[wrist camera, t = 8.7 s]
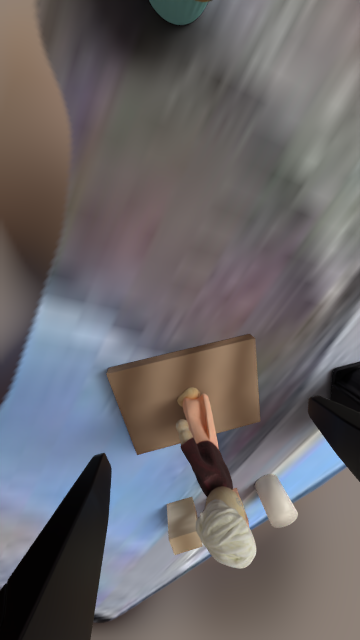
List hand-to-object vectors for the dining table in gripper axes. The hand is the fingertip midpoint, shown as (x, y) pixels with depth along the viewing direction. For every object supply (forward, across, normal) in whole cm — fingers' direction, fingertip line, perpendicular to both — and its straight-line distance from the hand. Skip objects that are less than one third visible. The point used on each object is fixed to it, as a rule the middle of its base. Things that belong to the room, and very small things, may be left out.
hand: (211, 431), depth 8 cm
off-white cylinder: (+13, -9, +30) cm, 34 cm away
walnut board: (+13, 0, +9) cm, 16 cm away
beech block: (+13, +5, +30) cm, 33 cm away
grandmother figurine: (+12, 0, +9) cm, 15 cm away
